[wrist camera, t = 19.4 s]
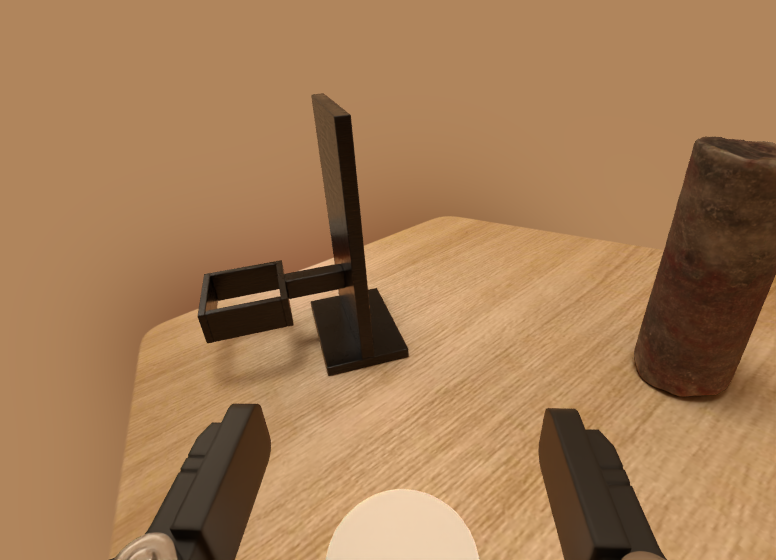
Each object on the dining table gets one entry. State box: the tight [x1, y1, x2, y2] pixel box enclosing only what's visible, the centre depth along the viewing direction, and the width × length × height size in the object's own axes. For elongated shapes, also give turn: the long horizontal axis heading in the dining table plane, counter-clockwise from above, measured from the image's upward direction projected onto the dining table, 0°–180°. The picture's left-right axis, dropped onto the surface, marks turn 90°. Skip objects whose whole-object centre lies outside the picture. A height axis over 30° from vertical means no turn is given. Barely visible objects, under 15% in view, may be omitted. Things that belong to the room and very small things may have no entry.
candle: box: [634, 137, 776, 396], centre depth 34 cm, size 8×7×20 cm
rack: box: [198, 94, 409, 376], centre depth 40 cm, size 18×12×23 cm
